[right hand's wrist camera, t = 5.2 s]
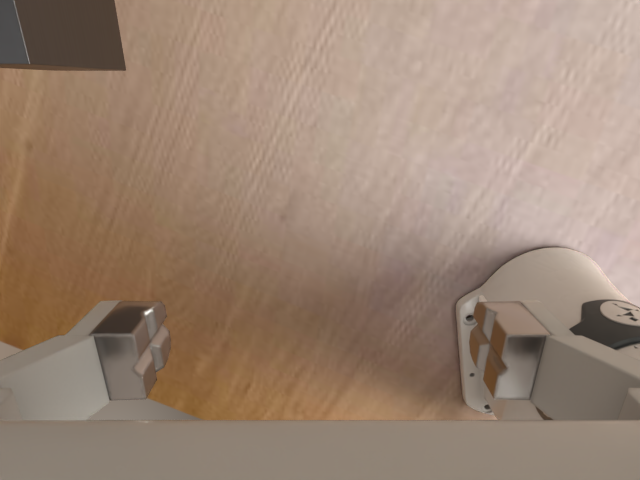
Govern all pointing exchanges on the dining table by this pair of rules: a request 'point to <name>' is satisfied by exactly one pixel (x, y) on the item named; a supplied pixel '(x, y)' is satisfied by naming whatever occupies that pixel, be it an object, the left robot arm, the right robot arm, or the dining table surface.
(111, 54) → the bar
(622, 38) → the dining table surface
